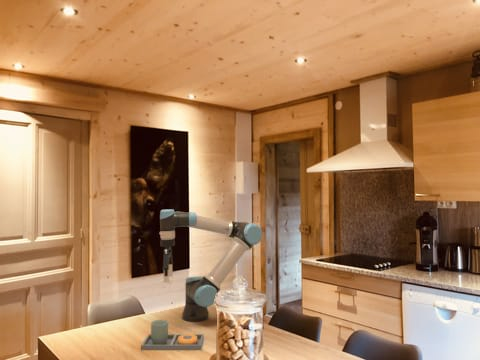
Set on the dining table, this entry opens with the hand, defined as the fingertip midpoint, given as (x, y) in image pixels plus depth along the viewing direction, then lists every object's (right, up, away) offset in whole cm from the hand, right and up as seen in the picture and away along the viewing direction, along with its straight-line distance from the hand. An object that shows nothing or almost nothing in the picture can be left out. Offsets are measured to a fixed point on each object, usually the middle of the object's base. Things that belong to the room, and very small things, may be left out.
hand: (168, 279), depth 203 cm
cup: (0, -25, -22) cm, 33 cm away
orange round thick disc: (+13, -25, -22) cm, 36 cm away
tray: (+7, -25, -22) cm, 34 cm away
